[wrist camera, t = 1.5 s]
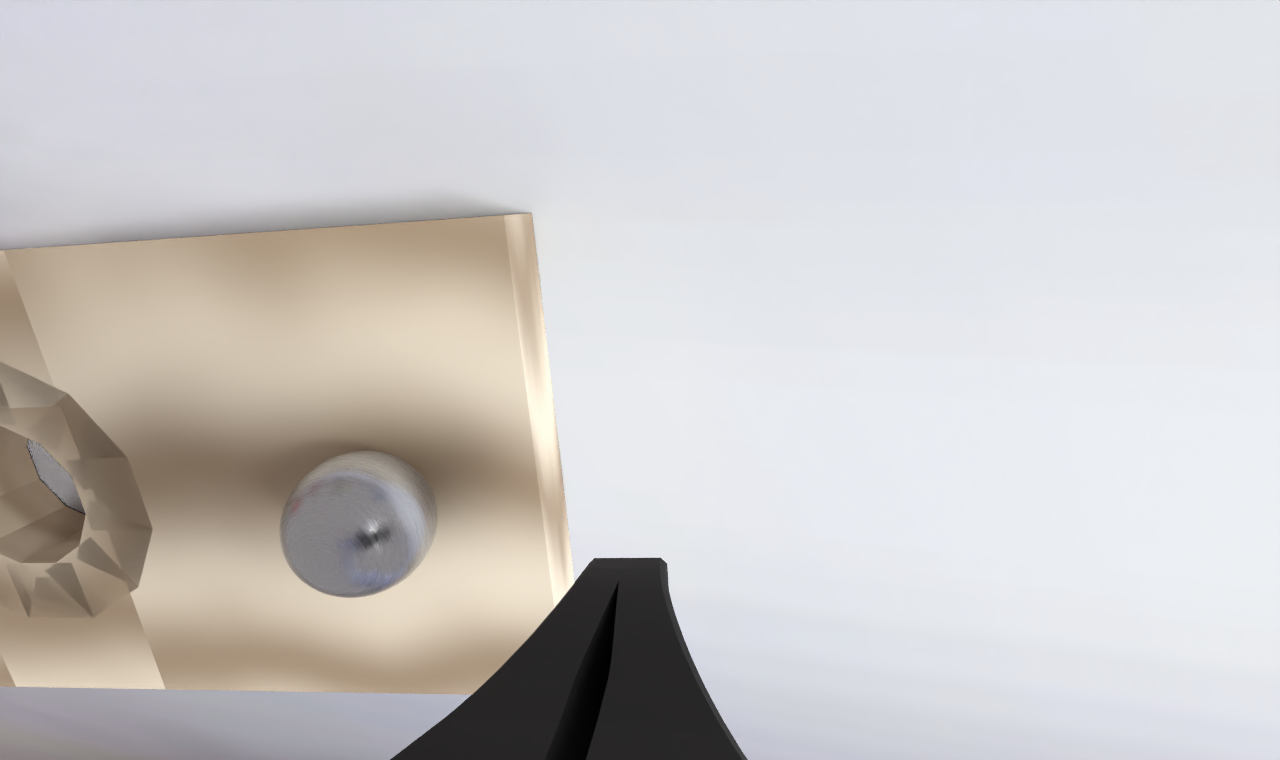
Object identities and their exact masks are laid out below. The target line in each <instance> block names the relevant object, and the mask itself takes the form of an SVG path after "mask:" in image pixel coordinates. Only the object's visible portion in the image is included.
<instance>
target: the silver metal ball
mask: <svg viewBox="0 0 1280 760" xmlns="http://www.w3.org/2000/svg"><path fill="white" fill-rule="evenodd" d="M436 527H437V508H436V502H435V498H434V495H433V493H432V490H431V488H430V486H429V485H428V483H427V481H426V480H425V478H424V477H423V476H422V475H421V474H420V473H419V471H418V470H416V469H415V468H414V467H413V466H412V465H410V464H409V463H407V462H406V461H404V460H402V459H400V458H398V457H395V456H393V455H390V454H386V453H382V452H375V451H357V452H350V453H346V454H342V455H339V456H336V457H334V458H331V459H328V460H327V461H325V462H323V463H321V464H320V465H318V466H316V467H315V468H314V469H312V470H311V471H310V472H309V473H307V474H306V475H305V476H304V477H303V478H302V479H301V480H300V481H299V482H298V484H297V485H296V486H295V487H294V489H293V490H292V492H291V493H290V495H289V497H288V499H287V501H286V503H285V505H284V508H283V511H282V515H281V519H280V529H279V536H280V544H281V548H282V552H283V555H284V558H285V560H286V562H287V564H288V565H289V567H290V568H291V570H292V571H293V572H294V573H295V575H296V576H297V577H298V578H299V579H300V580H302V581H303V582H304V583H305V584H307V585H308V586H310V587H311V588H313V589H315V590H317V591H319V592H321V593H324V594H327V595H331V596H336V597H342V598H358V597H366V596H371V595H374V594H377V593H380V592H383V591H386V590H388V589H390V588H392V587H393V586H395V585H397V584H399V583H400V582H402V581H403V580H404V579H406V578H407V577H408V576H409V575H410V574H411V573H412V572H414V571H415V569H416V568H417V567H418V566H419V565H420V564H421V562H422V561H423V560H424V558H425V556H426V555H427V553H428V551H429V549H430V547H431V545H432V542H433V539H434V536H435V532H436Z"/></svg>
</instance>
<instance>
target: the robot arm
mask: <svg viewBox="0 0 1280 760" xmlns="http://www.w3.org/2000/svg"><path fill="white" fill-rule="evenodd" d="M390 760H747V758H746V757H745V755H744V754H743V752H742V751H741V749H740V748H739V746H738V744H737V743H736V741H735V739H734V738H733V736H732V734H731V733H730V731H729V729H728V728H727V726H726V724H725V723H724V721H723V719H722V717H721V716H720V714H719V712H718V710H717V708H716V707H715V705H714V703H713V701H712V699H711V697H710V696H709V694H708V692H707V690H706V688H705V686H704V684H703V682H702V680H701V677H700V675H699V673H698V671H697V669H696V667H695V664H694V662H693V660H692V658H691V655H690V653H689V651H688V648H687V646H686V643H685V641H684V638H683V635H682V632H681V630H680V627H679V624H678V621H677V618H676V616H675V612H674V609H673V606H672V602H671V598H670V594H669V588H668V572H667V563H666V562H665V561H663V560H662V559H661V558H594V559H593V560H592V561H591V562H590V563H589V564H588V566H587V567H586V568H585V570H584V571H583V572H582V574H581V575H580V576H579V578H578V579H577V580H576V581H575V583H574V584H573V585H572V587H571V588H570V589H569V590H568V592H567V593H566V594H565V595H564V597H563V598H562V599H561V600H560V602H559V603H558V604H557V605H556V607H555V608H554V609H553V610H552V611H551V612H550V614H549V615H548V616H547V617H546V618H545V619H544V621H543V622H542V623H541V624H540V625H539V627H538V628H537V629H536V630H535V631H534V632H533V633H532V635H531V636H530V637H529V638H528V639H527V640H526V641H525V642H524V643H523V644H522V645H521V646H520V647H519V648H518V650H517V651H516V652H515V653H514V654H513V655H512V656H511V657H510V658H509V659H508V660H507V661H506V662H505V663H504V664H503V665H502V666H501V667H500V668H499V669H498V670H497V671H496V672H495V673H494V674H493V675H492V676H491V677H490V678H489V679H488V680H487V681H486V682H485V683H484V684H483V685H482V686H481V687H480V688H479V689H478V690H476V691H475V692H474V693H473V694H472V695H471V696H470V697H469V698H468V699H466V700H465V701H464V702H463V703H462V704H461V705H460V706H459V707H457V708H456V709H455V710H454V711H453V712H451V713H450V714H449V715H448V716H447V717H445V718H444V719H443V720H442V721H440V722H439V723H438V724H436V725H435V726H434V727H432V728H431V729H430V730H428V731H427V732H426V733H425V734H423V735H422V736H421V737H419V738H418V739H417V740H415V741H414V742H413V743H411V744H410V745H409V746H408V747H406V748H405V749H404V750H402V751H401V752H400V753H398V754H397V755H396V756H394V757H393V758H392V759H390Z"/></svg>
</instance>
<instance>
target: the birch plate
mask: <svg viewBox="0 0 1280 760" xmlns="http://www.w3.org/2000/svg"><path fill="white" fill-rule="evenodd" d="M28 439H30V440H32V441H35V442H37V443H39V444H41V445H42V446H43V448H44V449H45V450H46V451H47V452H48V453H49V454H50V455H51V456H52V457H53V458H54V459H55V460H56V461H57V462H58V463H59V464H60V465H61V466H62V467H63V468H64V469H65V470H66V472H67V473H68V474H69V475H70V476H71V477H72V479H73V482H74V484H75V487H76V490H77V492H78V495H79V498H80V500H81V503H82V506H83V508H84V511H85V514H86V515H84V514H82V513H80V512H78V511H76V510H73V509H71V508H69V507H67V506H65V505H64V504H63V503H62V502H61V501H60V500H59V499H58V497H57V496H56V495H55V494H54V493H53V492H52V491H51V490H50V489H49V488H48V487H47V486H46V485H45V484H44V483H43V482H42V481H41V480H40V479H39V476H38V474H37V471H36V469H35V466H34V464H33V461H32V459H31V456H30V453H29V451H28V448H27V442H28ZM357 451H375V452H382V453H386V454H390V455H393V456H395V457H398V458H400V459H402V460H404V461H406V462H407V463H409V464H410V465H412V466H413V467H414V468H415V469H416V470H418V471H419V473H420V474H421V475H422V476H423V477H424V478H425V480H426V481H427V483H428V485H429V486H430V488H431V490H432V493H433V495H434V498H435V502H436V508H437V527H436V532H435V536H434V539H433V542H432V545H431V547H430V549H429V551H428V553H427V555H426V556H425V558H424V560H423V561H422V562H421V564H420V565H419V566H418V567H417V568H416V569H415V571H414V572H412V573H411V574H410V575H409V576H408V577H407V578H406V579H404V580H403V581H402V582H400V583H399V584H397V585H395V586H393V587H392V588H390V589H388V590H386V591H383V592H380V593H377V594H374V595H371V596H366V597H358V598H342V597H336V596H331V595H327V594H324V593H321V592H319V591H317V590H315V589H313V588H311V587H310V586H308V585H307V584H305V583H304V582H303V581H302V580H300V579H299V578H298V577H297V576H296V575H295V573H294V572H293V571H292V570H291V568H290V567H289V565H288V564H287V562H286V560H285V558H284V555H283V552H282V548H281V544H280V536H279V529H280V519H281V515H282V511H283V508H284V505H285V503H286V501H287V499H288V497H289V495H290V493H291V492H292V490H293V489H294V487H295V486H296V485H297V484H298V482H299V481H300V480H301V479H302V478H303V477H304V476H305V475H306V474H307V473H309V472H310V471H311V470H312V469H314V468H315V467H316V466H318V465H320V464H321V463H323V462H325V461H327V460H328V459H331V458H334V457H336V456H339V455H342V454H346V453H350V452H357ZM573 584H574V574H573V566H572V557H571V548H570V540H569V531H568V522H567V514H566V505H565V496H564V488H563V479H562V470H561V462H560V453H559V445H558V436H557V427H556V419H555V410H554V401H553V393H552V384H551V375H550V367H549V358H548V349H547V341H546V332H545V323H544V315H543V306H542V298H541V289H540V280H539V272H538V263H537V254H536V246H535V237H534V228H533V220H532V213H525V214H511V215H497V216H482V217H468V218H454V219H439V220H425V221H411V222H397V223H382V224H368V225H354V226H339V227H325V228H311V229H297V230H282V231H268V232H254V233H239V234H225V235H211V236H197V237H182V238H168V239H154V240H139V241H125V242H111V243H97V244H82V245H68V246H54V247H39V248H25V249H11V250H0V686H5V687H64V688H122V689H181V690H239V691H298V692H356V693H415V694H473V693H474V692H475V691H476V690H478V689H479V688H480V687H481V686H482V685H483V684H484V683H485V682H486V681H487V680H488V679H489V678H490V677H491V676H492V675H493V674H494V673H495V672H496V671H497V670H498V669H499V668H500V667H501V666H502V665H503V664H504V663H505V662H506V661H507V660H508V659H509V658H510V657H511V656H512V655H513V654H514V653H515V652H516V651H517V650H518V648H519V647H520V646H521V645H522V644H523V643H524V642H525V641H526V640H527V639H528V638H529V637H530V636H531V635H532V633H533V632H534V631H535V630H536V629H537V628H538V627H539V625H540V624H541V623H542V622H543V621H544V619H545V618H546V617H547V616H548V615H549V614H550V612H551V611H552V610H553V609H554V608H555V607H556V605H557V604H558V603H559V602H560V600H561V599H562V598H563V597H564V595H565V594H566V593H567V592H568V590H569V589H570V588H571V587H572V585H573Z"/></svg>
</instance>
